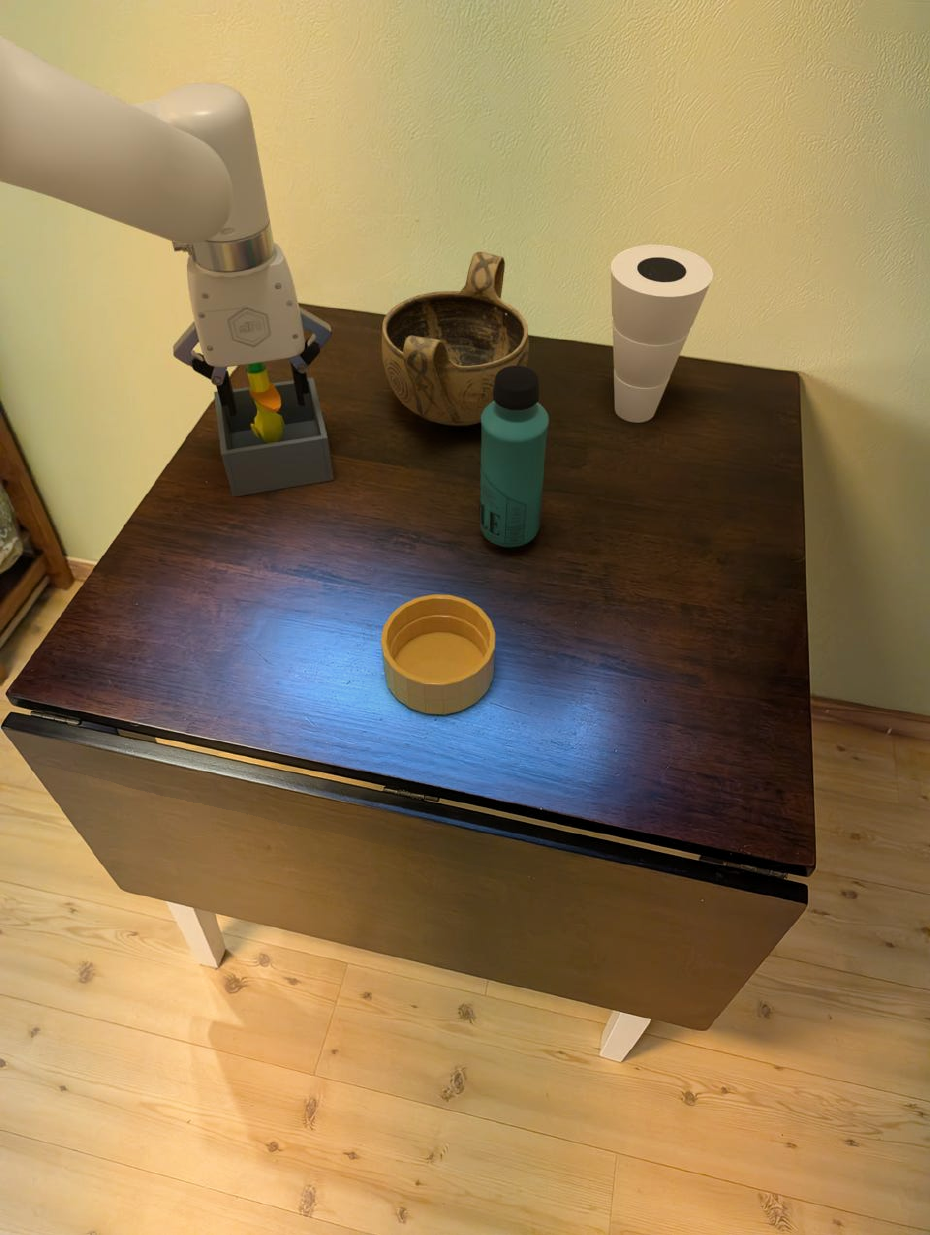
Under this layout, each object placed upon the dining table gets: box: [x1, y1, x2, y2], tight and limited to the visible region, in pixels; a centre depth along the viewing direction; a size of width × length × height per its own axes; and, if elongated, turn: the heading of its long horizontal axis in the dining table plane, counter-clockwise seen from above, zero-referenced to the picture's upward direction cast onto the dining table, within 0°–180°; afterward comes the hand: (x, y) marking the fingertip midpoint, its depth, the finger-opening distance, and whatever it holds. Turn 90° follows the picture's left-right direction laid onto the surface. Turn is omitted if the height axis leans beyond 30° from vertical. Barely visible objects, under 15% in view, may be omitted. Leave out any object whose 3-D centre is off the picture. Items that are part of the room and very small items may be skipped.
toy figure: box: [245, 362, 285, 444], centre depth 92 cm, size 7×4×12 cm, turn 33°
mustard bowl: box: [380, 593, 496, 715], centre depth 76 cm, size 10×10×5 cm
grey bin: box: [213, 377, 335, 498], centre depth 95 cm, size 11×11×6 cm
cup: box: [610, 244, 714, 423], centre depth 96 cm, size 11×11×18 cm
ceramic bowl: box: [381, 251, 530, 427], centre depth 97 cm, size 22×17×15 cm
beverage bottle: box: [478, 366, 550, 548], centre depth 81 cm, size 6×7×20 cm
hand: (266, 402), depth 91 cm, fingers open, 6 cm apart
